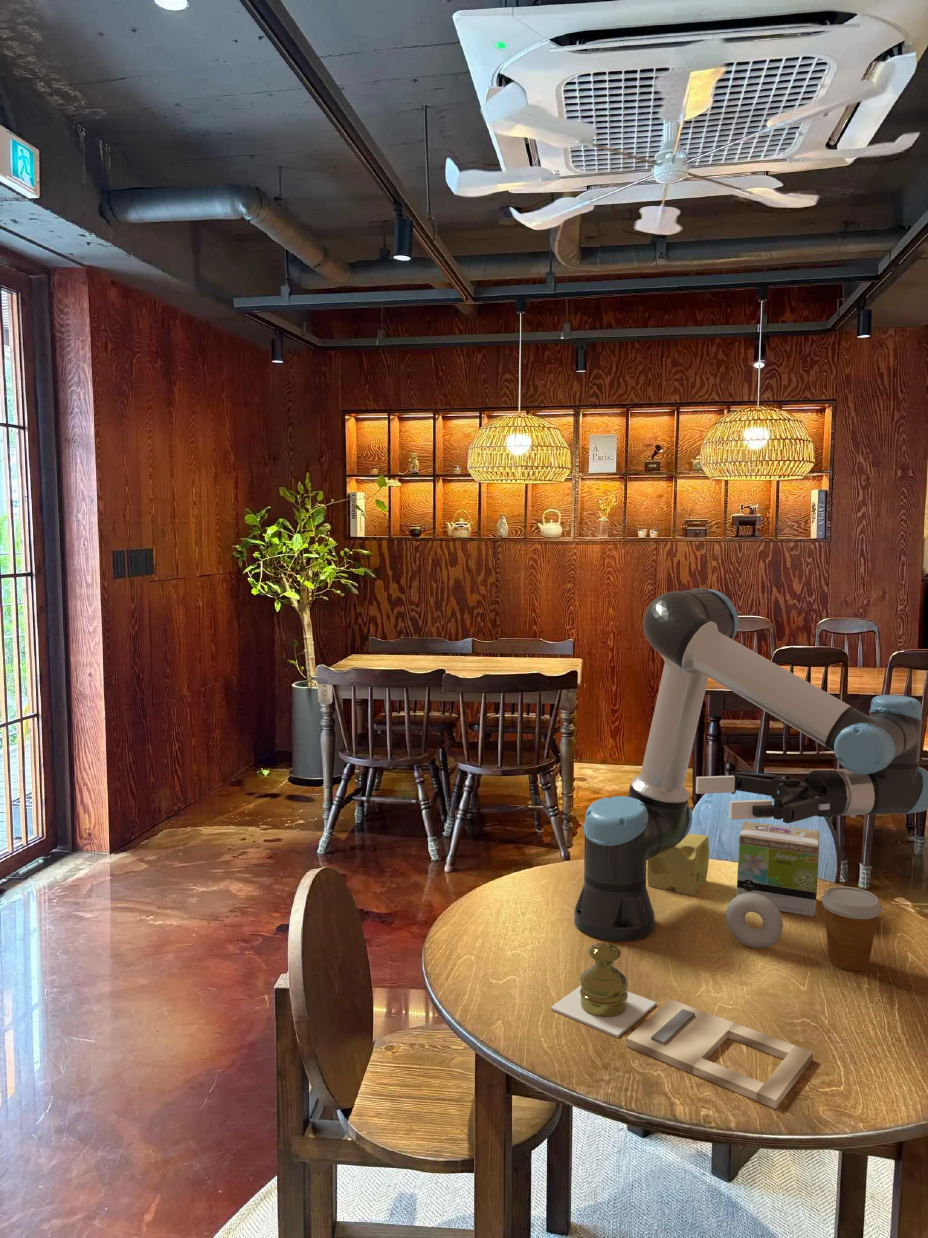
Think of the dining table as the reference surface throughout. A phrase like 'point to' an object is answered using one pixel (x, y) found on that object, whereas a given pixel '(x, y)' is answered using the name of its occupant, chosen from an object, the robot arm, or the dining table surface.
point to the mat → (609, 1025)
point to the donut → (763, 908)
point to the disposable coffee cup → (850, 926)
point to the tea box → (779, 865)
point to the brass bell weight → (604, 983)
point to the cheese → (681, 866)
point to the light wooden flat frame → (698, 1035)
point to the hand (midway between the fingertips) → (712, 797)
